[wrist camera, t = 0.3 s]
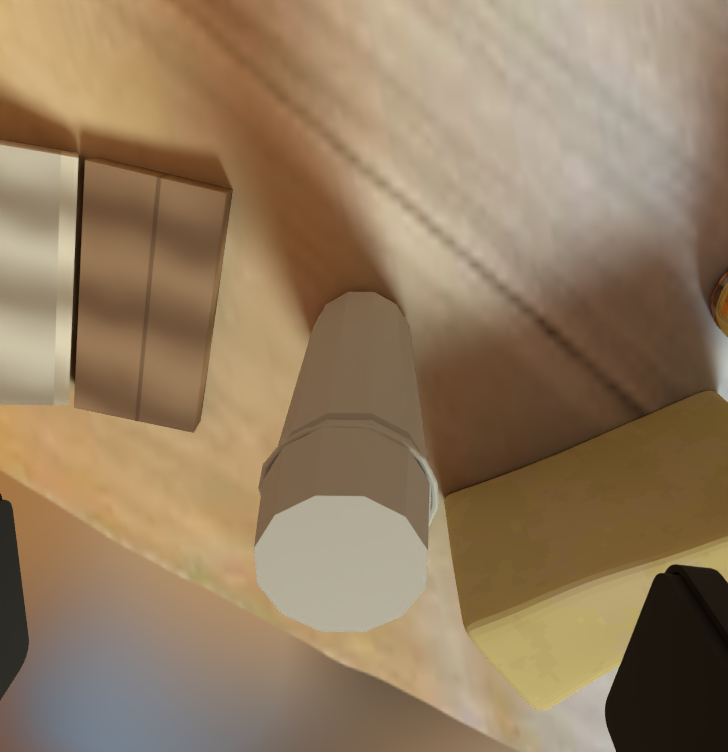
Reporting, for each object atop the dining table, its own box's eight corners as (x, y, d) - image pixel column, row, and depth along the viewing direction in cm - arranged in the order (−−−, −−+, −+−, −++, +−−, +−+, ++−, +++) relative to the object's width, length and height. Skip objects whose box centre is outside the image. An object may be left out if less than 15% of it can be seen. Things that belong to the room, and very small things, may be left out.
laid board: (98, 157, 41) (84, 159, 39) (232, 189, 42) (225, 193, 40) (85, 396, 48) (73, 407, 46) (200, 420, 49) (193, 432, 47)
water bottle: (321, 273, 44) (257, 458, 21) (427, 301, 44) (479, 511, 21) (293, 387, 47) (213, 651, 24) (392, 411, 48) (404, 691, 25)
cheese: (686, 344, 45) (820, 448, 32) (741, 438, 48) (884, 570, 35) (436, 493, 51) (457, 636, 37) (499, 568, 54) (540, 726, 40)
